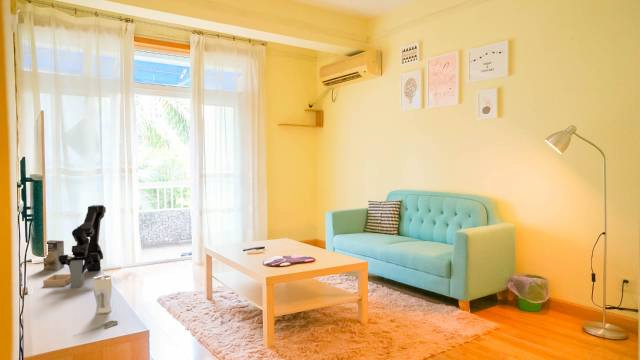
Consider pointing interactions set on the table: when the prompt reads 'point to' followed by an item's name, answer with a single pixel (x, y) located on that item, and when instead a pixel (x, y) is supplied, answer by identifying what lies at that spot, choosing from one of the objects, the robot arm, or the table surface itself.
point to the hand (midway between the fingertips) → (76, 273)
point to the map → (108, 324)
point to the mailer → (57, 280)
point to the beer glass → (102, 294)
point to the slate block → (76, 273)
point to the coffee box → (54, 255)
